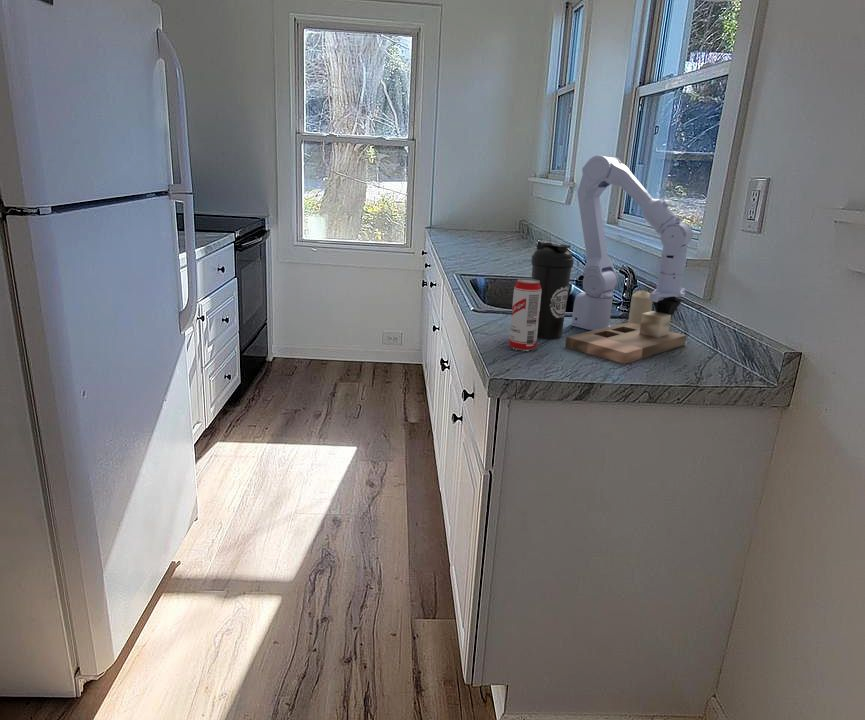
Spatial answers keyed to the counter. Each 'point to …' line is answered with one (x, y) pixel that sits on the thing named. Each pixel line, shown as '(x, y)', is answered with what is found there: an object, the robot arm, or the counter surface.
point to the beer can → (525, 314)
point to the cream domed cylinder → (639, 306)
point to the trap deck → (623, 343)
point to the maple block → (655, 324)
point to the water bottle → (552, 286)
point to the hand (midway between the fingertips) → (662, 326)
